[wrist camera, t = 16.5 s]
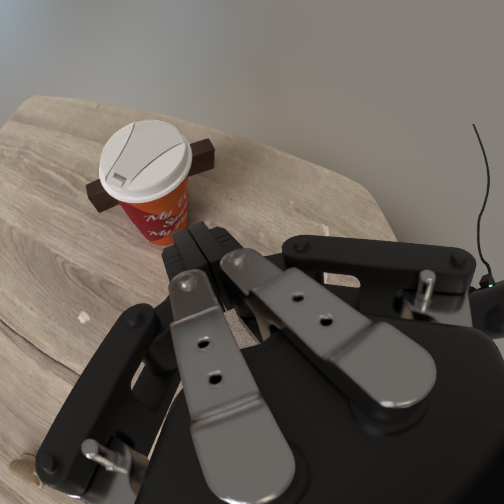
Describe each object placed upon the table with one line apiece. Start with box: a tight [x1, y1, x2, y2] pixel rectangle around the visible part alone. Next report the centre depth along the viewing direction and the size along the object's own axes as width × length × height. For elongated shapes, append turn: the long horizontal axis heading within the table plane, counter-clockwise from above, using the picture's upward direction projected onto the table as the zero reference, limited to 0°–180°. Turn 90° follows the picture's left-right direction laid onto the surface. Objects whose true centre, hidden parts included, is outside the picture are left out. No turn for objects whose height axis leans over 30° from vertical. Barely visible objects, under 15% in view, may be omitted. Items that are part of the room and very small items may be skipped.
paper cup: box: [99, 120, 192, 246], centre depth 25 cm, size 8×8×14 cm
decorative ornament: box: [9, 455, 45, 489], centre depth 15 cm, size 4×8×5 cm, turn 97°
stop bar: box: [86, 138, 215, 213], centre depth 31 cm, size 16×2×4 cm, turn 116°
